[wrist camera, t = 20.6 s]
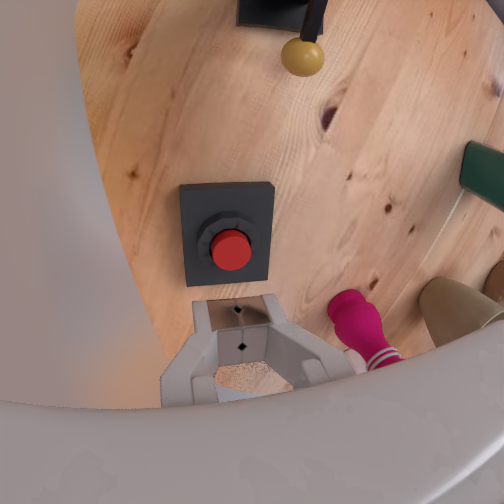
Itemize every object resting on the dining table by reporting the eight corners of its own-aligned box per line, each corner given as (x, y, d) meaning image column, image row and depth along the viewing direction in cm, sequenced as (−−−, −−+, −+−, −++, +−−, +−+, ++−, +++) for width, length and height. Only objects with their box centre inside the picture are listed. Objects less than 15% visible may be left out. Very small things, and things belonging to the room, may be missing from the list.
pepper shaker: (344, 347, 53) (369, 392, 43) (366, 345, 54) (393, 387, 45) (333, 366, 55) (355, 410, 46) (355, 363, 57) (378, 404, 47)
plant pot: (392, 325, 53) (435, 385, 40) (422, 259, 46) (482, 317, 33) (439, 316, 57) (480, 365, 43) (467, 259, 50) (519, 305, 36)
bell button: (247, 260, 34) (250, 269, 33) (211, 263, 33) (213, 272, 32) (248, 228, 32) (252, 235, 31) (210, 230, 31) (212, 238, 30)
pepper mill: (364, 280, 45) (438, 375, 28) (363, 312, 49) (424, 402, 32) (323, 295, 44) (388, 402, 28) (325, 327, 48) (379, 426, 32)
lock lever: (310, 68, 24) (323, 86, 22) (272, 63, 23) (282, 81, 21) (350, -65, 11) (372, -62, 10) (306, -78, 11) (323, -78, 9)
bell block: (263, 270, 40) (271, 288, 36) (186, 276, 38) (187, 296, 34) (269, 181, 34) (279, 192, 31) (180, 184, 32) (179, 196, 28)
